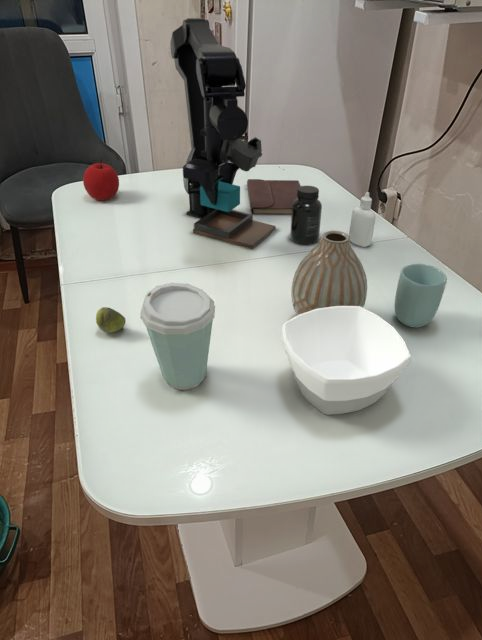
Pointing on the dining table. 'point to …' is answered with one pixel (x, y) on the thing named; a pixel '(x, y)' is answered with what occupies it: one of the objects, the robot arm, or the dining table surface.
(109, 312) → the lime
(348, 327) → the bowl
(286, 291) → the dining table surface
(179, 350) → the disposable coffee cup
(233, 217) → the brown wooden tray
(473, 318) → the dining table surface
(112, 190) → the apple
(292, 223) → the supplement bottle
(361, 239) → the eye dropper bottle
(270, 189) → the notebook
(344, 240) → the vase
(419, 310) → the cup
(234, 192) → the block
